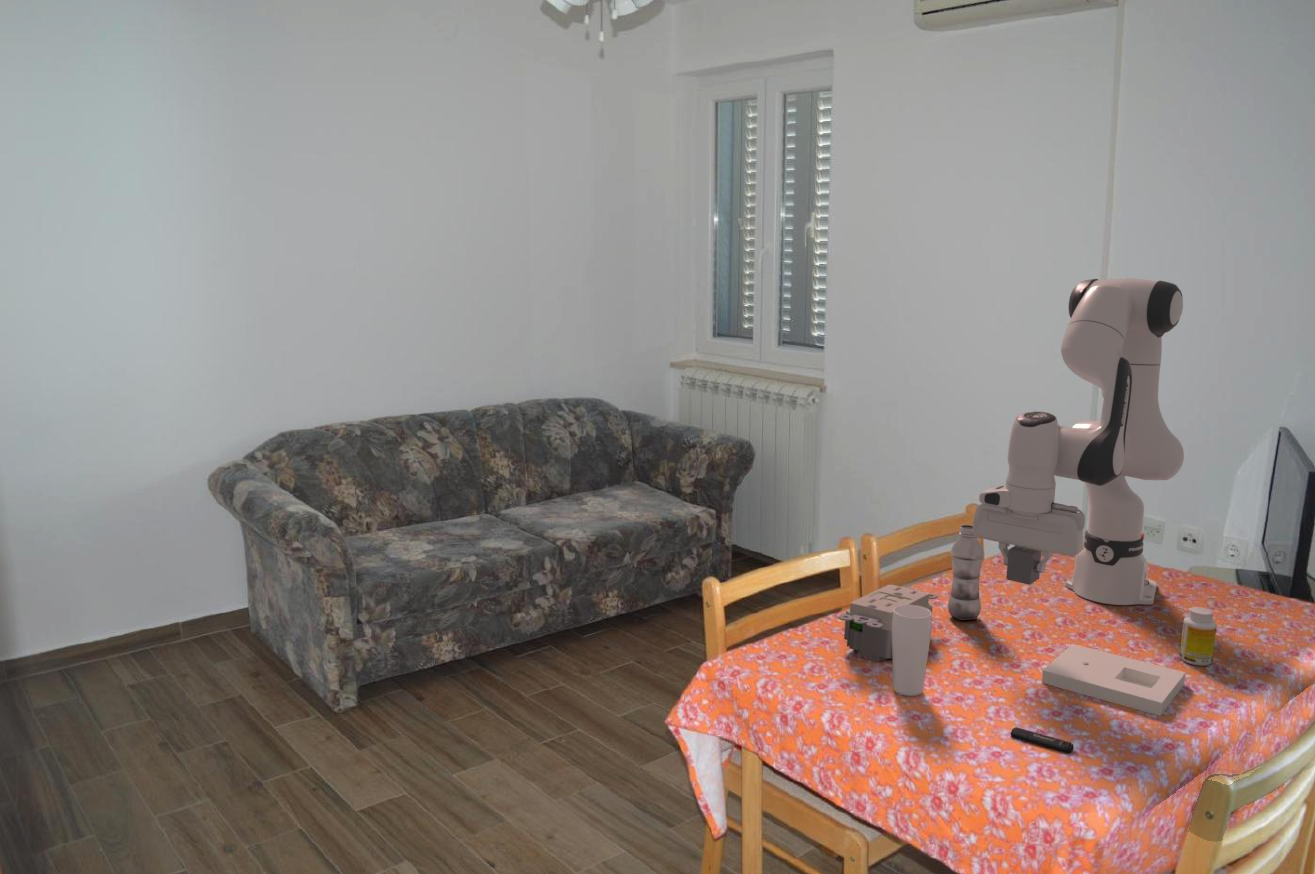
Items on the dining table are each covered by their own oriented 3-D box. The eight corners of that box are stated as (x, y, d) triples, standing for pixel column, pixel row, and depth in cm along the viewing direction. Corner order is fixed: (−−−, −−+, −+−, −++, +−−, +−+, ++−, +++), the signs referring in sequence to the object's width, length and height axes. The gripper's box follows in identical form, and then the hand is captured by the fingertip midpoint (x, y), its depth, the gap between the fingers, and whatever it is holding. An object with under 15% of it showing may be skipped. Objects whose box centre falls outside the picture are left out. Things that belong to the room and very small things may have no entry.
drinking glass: (920, 702, 176) (925, 621, 174) (882, 693, 180) (887, 613, 177) (932, 688, 182) (937, 608, 179) (895, 679, 186) (899, 601, 183)
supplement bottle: (1218, 666, 192) (1224, 615, 190) (1189, 667, 192) (1195, 615, 190) (1201, 654, 197) (1207, 604, 195) (1173, 655, 197) (1179, 605, 195)
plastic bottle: (983, 623, 212) (990, 531, 208) (951, 623, 212) (957, 531, 209) (975, 612, 219) (981, 523, 215) (943, 612, 219) (949, 522, 215)
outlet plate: (1071, 655, 197) (1072, 643, 196) (1184, 684, 184) (1185, 671, 184) (1041, 682, 185) (1042, 669, 184) (1160, 715, 172) (1161, 702, 172)
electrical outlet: (825, 657, 194) (829, 606, 192) (890, 623, 216) (894, 577, 215) (882, 673, 187) (886, 621, 185) (943, 636, 209) (947, 589, 208)
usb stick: (1008, 739, 165) (1009, 730, 164) (1013, 732, 167) (1014, 724, 166) (1069, 757, 159) (1070, 747, 159) (1073, 750, 161) (1074, 741, 161)
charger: (1015, 573, 198) (1017, 543, 197) (1039, 578, 196) (1041, 548, 194) (1006, 579, 195) (1008, 549, 194) (1030, 584, 192) (1032, 554, 191)
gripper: (1091, 504, 188) (1085, 576, 191) (984, 486, 201) (980, 553, 204) (1080, 511, 183) (1073, 584, 186) (971, 492, 196) (966, 561, 199)
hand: (1023, 568), depth 195 cm, fingers closed on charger, 5 cm apart
